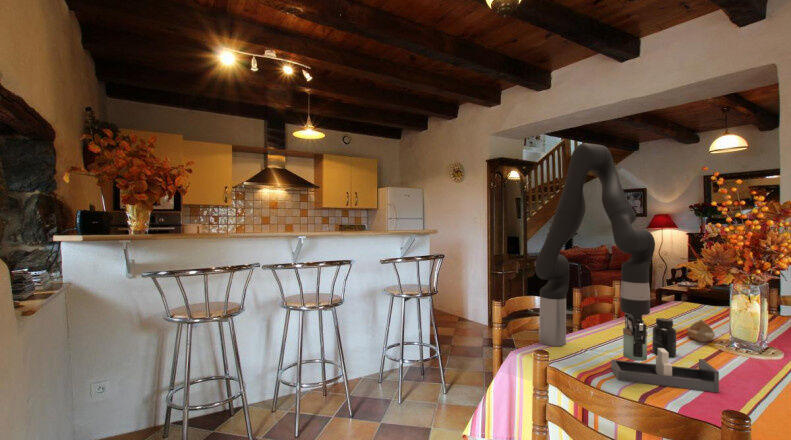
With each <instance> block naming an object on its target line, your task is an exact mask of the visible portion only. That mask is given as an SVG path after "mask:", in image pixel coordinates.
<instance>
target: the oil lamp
mask: <svg viewBox="0 0 791 440" xmlns="http://www.w3.org/2000/svg"><path fill="white" fill-rule="evenodd" d="M686 332H687V334H688V336H689V337H690V338H691V339H692V340H694V341H697V342H703V343H704V342H705V343H707V342H710V341H712V340H713V339H714V338H715V335H716V332H714V330H713V328H712V327H711V326H710V325H709V324H708V323H707V322H705V321H704V320H703V319H700V320H698V321H696V322H694V323H693V324H691V325H690V326H689V327H686Z"/></svg>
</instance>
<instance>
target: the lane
mask: <svg viewBox="0 0 791 440" xmlns="http://www.w3.org/2000/svg"><path fill="white" fill-rule="evenodd" d="M610 367H611V370H612V372H613V371H614V372H613V374H614V373H615V374H614V375H615V377H616V379H617V380H618V381H622V382H629V383H639V384H644V385H645V384H646V385H655V386H661V387H662V386H663V387H670V388H678V389H686V390H693V391H695V390H696V391H702V392H709V393H710V392H711V393H719V391H720V390H719V389H720V388H719V387H720V384H719V382H720V372H719V371H718V370H717V369H716V368H714V367H713V366H712V365H711V364H710V363H708V361H706V360H705V359H703V358H699V359H698V368H693V367H685V366H674V365H672V376H665V375H658V374H657V373H656V363H649V362H648V363H647V362H641V361H640V362H639V361H630V360H621V359H610Z"/></svg>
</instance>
